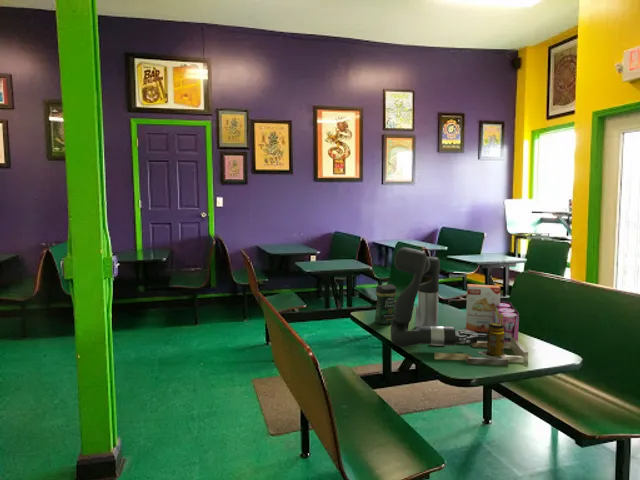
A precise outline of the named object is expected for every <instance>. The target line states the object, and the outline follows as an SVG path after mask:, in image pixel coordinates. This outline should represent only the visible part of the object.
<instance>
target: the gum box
mask: <svg viewBox="0 0 640 480" xmlns="http://www.w3.org/2000/svg"><path fill="white" fill-rule="evenodd" d="M519 316H520V313H519V312H518V311H517V309H516V308H515V307H514V306H513V304H512V302H511V301H500V305H495V303H494V310H493V323H494V322H495V323H501V324H503V326H504V327H503V331H504V342H510V338H515V339H516V340H517V341H518V342H519V323H520V317H519Z"/></svg>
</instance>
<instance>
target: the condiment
mask: <svg viewBox="0 0 640 480" xmlns="http://www.w3.org/2000/svg"><path fill="white" fill-rule="evenodd" d="M503 327H504V326H503V324H501V323H495V322H494V323H489V329H488V332H487V335H488V340H486V342H487V348H486V350H482V351H478V353H479V354H481V355H482V356H485V357H486V358H500V355H508V354H507V353H505V352H504V349H505V348H504V331H503Z"/></svg>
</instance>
